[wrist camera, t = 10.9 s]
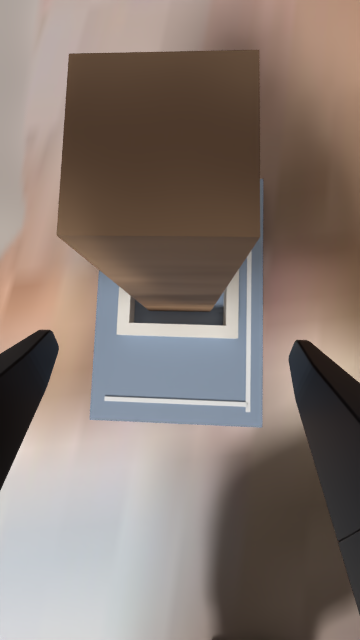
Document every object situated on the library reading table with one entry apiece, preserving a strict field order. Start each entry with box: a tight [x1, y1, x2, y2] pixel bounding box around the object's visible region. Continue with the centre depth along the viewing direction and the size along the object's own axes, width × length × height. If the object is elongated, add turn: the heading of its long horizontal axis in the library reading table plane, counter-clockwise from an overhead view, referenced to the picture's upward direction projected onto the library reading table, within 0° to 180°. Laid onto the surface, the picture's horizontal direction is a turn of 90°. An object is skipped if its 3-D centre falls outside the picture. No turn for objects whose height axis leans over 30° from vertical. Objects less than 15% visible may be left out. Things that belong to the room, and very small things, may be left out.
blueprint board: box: [90, 179, 263, 427], centre depth 18 cm, size 18×12×2 cm, turn 178°
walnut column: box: [57, 50, 260, 312], centre depth 12 cm, size 4×4×13 cm
